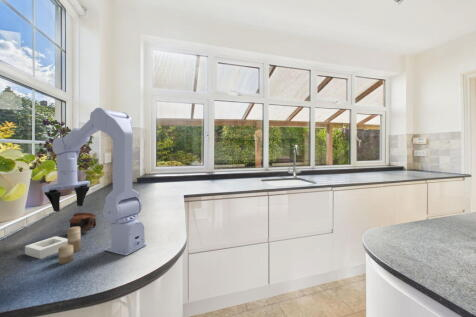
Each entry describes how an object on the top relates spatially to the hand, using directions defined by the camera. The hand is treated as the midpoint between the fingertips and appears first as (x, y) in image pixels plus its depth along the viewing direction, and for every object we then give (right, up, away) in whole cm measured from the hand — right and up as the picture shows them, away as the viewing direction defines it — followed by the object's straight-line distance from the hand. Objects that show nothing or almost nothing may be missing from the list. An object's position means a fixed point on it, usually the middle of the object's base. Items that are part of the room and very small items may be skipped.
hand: (68, 208), depth 78 cm
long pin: (+11, -10, -12) cm, 19 cm away
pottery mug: (+2, -10, +5) cm, 11 cm away
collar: (+3, -10, -12) cm, 16 cm away
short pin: (+14, -11, -18) cm, 25 cm away
